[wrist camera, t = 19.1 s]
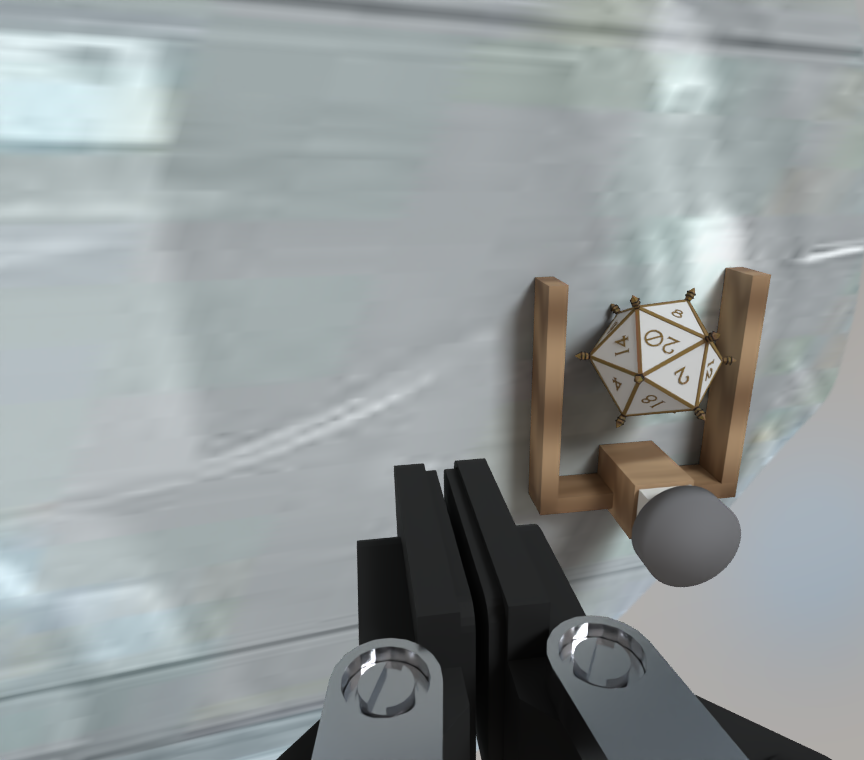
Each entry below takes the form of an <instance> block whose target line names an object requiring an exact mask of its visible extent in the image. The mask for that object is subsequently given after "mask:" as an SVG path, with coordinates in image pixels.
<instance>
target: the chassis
mask: <svg viewBox="0 0 864 760" xmlns="http://www.w3.org/2000/svg"><path fill="white" fill-rule="evenodd" d="M770 278H771V275H770V274H766V273H762V272H759V271H755V270H751V269H748V268H744V267H734V268H726V271H725V278H724V285H723V293H722V300H721V307H720V315H719V322H718V329H717V333H719V334H721V335H720V336H719V338H718V339H719V340H716V344H715V346H716V348H717V349H718V351H719V353H720V355H721V356H722V358H724V357H732V358H734V359H735V360H737V361H735V362H734V363H732V364H731V365H729V364H727V365H725V364H724V363H721V365H720V367H719V369H718V371H717V373H716V375H715V376H714V378H713V380H712V382H711V384H710V388H709V395H708V402H707V410H706V417H705V420H706V421H705V424H704V432H703V439H702V446H701V454H700V461H699V464H695V465H683V466H678V465H677V464H676V463H675V462H674V461H673V460H672V459H671V458H670V457H669V456H668V455H667V454H665V453H664V452H663V451H662V450H661V449H660V448H659V447H658V446H657V445H656V444H655V443H654V442H653V441H641V442H629V443H617V444H605V445H599V456H598V470H597V473H591V474H580V475H568V476H559V465H560V445H561V425H562V405H563V386H564V366H565V346H566V326H567V306H568V286H569V285H567V284H565V283H564V282H562V281H560V280H558V279H557V278H555V277H535V302H534V334H533V366H532V398H531V430H530V462H529V495H530V497H531V499H532V501H533V503H534V504H535V506H536V508H537V510H538V512H539V514H540V515H548V514H559V513H569V512H580V511H591V510H601V509H608V510H609V512H610V513H611V514H612V516H613V517H614V518H615V520H616V521H617V522H618V524H619V525H620V526H621V528H622V529H623V531H624V532H625V533H626V535H627V536H628V537H629V539H632V538H631V537H632V527H633V524H634V521H635V519H636V516H637V506H638V496H639V490H640V489H651V488H662V487H673V486H683V485H692V486H698V487H702V488H704V489H707V490H708V491H710V492H711V493H713V494H714V495H715V496H716V497H717V498H729V497H735V494H736V488H737V481H738V475H739V469H740V463H741V457H742V451H743V444H744V438H745V432H746V426H747V420H748V414H749V407H750V401H751V395H752V389H753V383H754V377H755V370H756V364H757V358H758V352H759V346H760V340H761V333H762V327H763V321H764V315H765V309H766V303H767V296H768V290H769V284H770Z"/></svg>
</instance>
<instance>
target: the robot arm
mask: <svg viewBox="0 0 864 760" xmlns="http://www.w3.org/2000/svg"><path fill="white" fill-rule="evenodd" d="M394 480H395V499H396V518H397V537H392V538H381V539H371V540H360V541H357V568H358V616H359V646H357V647H356V648H354V649H353V650H351V651H350V652H348V653H347V654H345V655H344V656H343V658H342V659H341V660H340V661H339V662H338V663H337V665H336V666H335V667H334V670H333V672H332V674H331V677H330V679H329V683H328V687H327V692H326V696H325V701H324V705H323V710H322V714H321V719H320V720H319V721H318V722H316V723H315V724H314V725H313V726H312V727H311V728H310V729H309V730H308V731H307V732H306V733H305V734H304V735H302V736H301V737H300V738H299V739H298V740H297V741H296V742H295V743H294V744H293V745H292V746H291V747H289V748H288V749H287V750H286V751H285V752H284V753H283V754H282V755H281V756H280V757H279V758H278V759H277V760H476V737H477V741H478V746H479V750H480V755H481V759H482V760H832V759H830V758H828V757H826V756H825V755H822V754H820V753H818V752H816V751H814V750H812V749H810V748H808V747H805V746H803V745H801V744H799V743H797V742H795V741H793V740H790V739H788V738H786V737H784V736H782V735H780V734H778V733H775V732H773V731H771V730H769V729H767V728H765V727H763V726H761V725H758V724H756V723H754V722H752V721H750V720H748V719H746V718H743V717H741V716H739V715H737V714H735V713H733V712H731V711H729V710H726V709H724V708H722V707H720V706H717V705H716V704H714V703H712V702H709V701H707V700H705V699H703V698H701V697H699V696H697V695H694V693H692V691H691V690H690V689H689V688H688V686H687V685H686V684H685V683H684V682H683V680H682V679H681V678H680V677H679V676H678V674H677V673H676V672H675V671H674V670H673V668H672V667H671V666H670V665H669V664H668V662H667V661H666V660H665V659H664V658H663V657H662V655H661V654H660V653H659V652H658V651H657V649H656V648H655V647H654V646H653V645H652V643H650V641H649V640H648V639H646V638H645V637H644V636H643V635H642V634H641V633H640V632H639V631H638V630H636V629H634V628H632V627H631V626H629V625H627V624H625V623H624V622H621V621H618V620H614V619H611V618H608V617H601V616H592V615H589V616H586V615H585V613H584V611H583V609H582V607H581V605H580V603H579V601H578V599H577V597H576V595H575V593H574V592H573V590H572V588H571V586H570V584H569V582H568V580H567V578H566V576H565V574H564V572H563V570H562V568H561V567H560V565H559V563H558V561H557V559H556V557H555V555H554V553H553V551H552V549H551V547H550V545H549V544H548V542H547V540H546V538H545V536H544V534H543V532H542V530H541V529H540V527H539V526H538V525H537V524H528V525H517V526H516V525H515V523H514V521H513V519H512V516H511V514H510V512H509V510H508V508H507V505H506V503H505V501H504V499H503V497H502V494H501V492H500V490H499V488H498V486H497V483H496V481H495V479H494V477H493V475H492V472H491V470H490V468H489V466H488V464H487V461H486V460H485V458H483V459H471V460H459V461H455V463H454V469H445V470H444V497H443V494H442V490H441V486H440V483H439V479H438V476H437V472H436V470H432V471H426V470H425V466H424V464H411V465H398V466H394Z"/></svg>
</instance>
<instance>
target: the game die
mask: <svg viewBox="0 0 864 760" xmlns="http://www.w3.org/2000/svg"><path fill="white" fill-rule="evenodd" d="M695 295H696V294H695V288H693V289H691V290H689V291H687V294H685V296H686V298H685V299H684V300H677V301H669V302H662V303H654V304H647V305H640V303H641V302H640V301H639V300H640V298H637V297H635V296H633V295H632V298H631V300H630V302H631V304H632V308H629V309H626V310H623V311H620V308H619V306H618V305H617V304H616V305H614V304H611V311H613V313H615V314H616V316H615V318H614V319H613V320H612V322H611V323H610V325H609V326H608V328H607V329H606V331H605V332H604V334H603V335H602V336H601V338H600V339H599V341H598V342H597V344H596V345H595V347H594V348H593V350H592V351H591V352H590V354H588V353H586V352H585V353H583V352H581V353H579V354H577V355H576V356H575V357H577V358H579V359H580V360H582V359H584V360H586V359H590V361H591V363H592V365H593V366H594V368H595V370H596V372H597V373H598V375H599V377H600V378H601V380H602V382H603V384H604V385H605V387H606V389H607V390H608V392H609V394H610V396H611V397H612V399H613V401H614V403H615V404H616V406H617V408H618V409H619V411H620V413H621V415H620V416H619V417H617V418H618V419H617V420H615V421H616V428H618V427H620V426H621V425H624V424H623V423H624V421H625V418H626V417H628V416H639V415H650V414H661V413H676V412H683V411H694V412H695V415H696V416H697V418H698V419H702V420H704V421H706V420H705V414H706V412H703V409H702V410H701V409H700V408H699V407H698V406H699V404H700V403H701V401H702V399H703V397H704V395H705V393H706V391H707V389H708V388H709V386H710V384H711V382H712V380H713V378H714V376H715V375H716V373H717V371H718V369H719V367H720V365H721V363H724V364H725V365H727V364H729V365H731V364H732V363H734V362H735V361H737V360H735V359H734V358H732V357H724V358H722V356H721V355H720V353H719V351H718V349H717V348H716V346H715V344H714V343H713V341H716V340H719V339H718V338H719V336H720V335H721V334H719V333H716V332H714V331H713V332H712V333H709V334H708V332H707V330H706V329H705V327H704V325H703V324H702V322H701V320H700V318H699V317H698V315H697V313H696V311H695V310H694V308H693V306H692V305H691V303H690V301H691V300H692V299H694V298H693V297H694V296H695Z"/></svg>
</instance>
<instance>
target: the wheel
mask: <svg viewBox="0 0 864 760" xmlns="http://www.w3.org/2000/svg"><path fill="white" fill-rule="evenodd" d="M631 538H632V544H633V548H634V550H635V552H636V554H637V555H638V556H639V558H640V559H641V561H642V562H643V563H644V565H645V566H646V567H647V569H648V570H649V572H650V573H651V574H652V575H653V576H654V577H655V578H656V579H657V580H658V581H660V582H662V583H664V584H666V585H670V586H674V587H689V586H694V585H698V584H701V583H703V582H706V581H708V580H710V579H712V578H713V577H715V576H716V575H717V574H719V573H720V572H721V571H722V570H724V568H726V567H727V565H728V564H729V563H730V562H731V561H732V559H733V558H734V556H735V554H736V552H737V549H738V547H739V543H740V539H741V529H740V524H739V521H738V519H737V517H736V516H735V514H734V513H733V512H732V511H731V510H730V509H729V508H728V507H727V506H726V505H725V504H724V503H723V502H721V501H720V500H719V499H718V498H717V497H716V496H715V495H714V494H713V493H711V492H710V491H708V490H707V489H704V488H702V487H698V486H692V485H683V486H673V487H662V488H651V489H640V490H639V496H638V506H637V516H636V519H635V521H634V524H633V527H632V537H631Z"/></svg>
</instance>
